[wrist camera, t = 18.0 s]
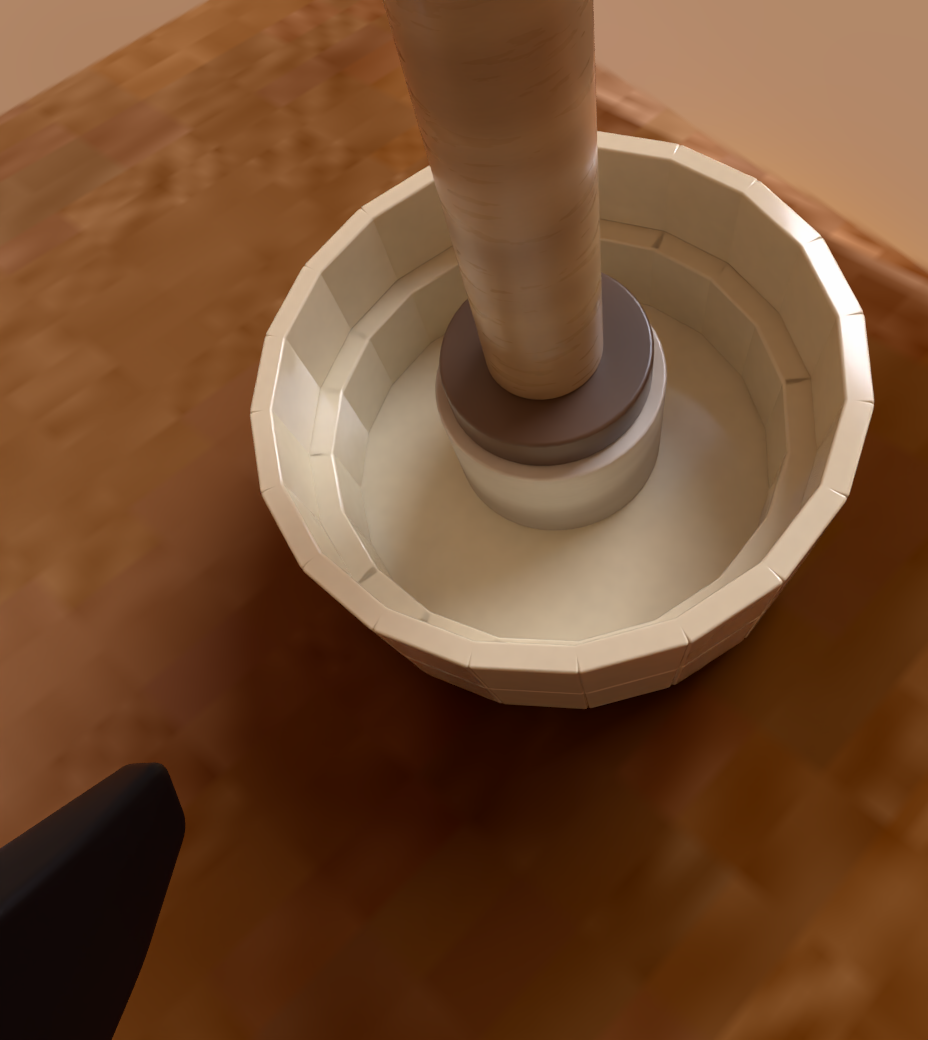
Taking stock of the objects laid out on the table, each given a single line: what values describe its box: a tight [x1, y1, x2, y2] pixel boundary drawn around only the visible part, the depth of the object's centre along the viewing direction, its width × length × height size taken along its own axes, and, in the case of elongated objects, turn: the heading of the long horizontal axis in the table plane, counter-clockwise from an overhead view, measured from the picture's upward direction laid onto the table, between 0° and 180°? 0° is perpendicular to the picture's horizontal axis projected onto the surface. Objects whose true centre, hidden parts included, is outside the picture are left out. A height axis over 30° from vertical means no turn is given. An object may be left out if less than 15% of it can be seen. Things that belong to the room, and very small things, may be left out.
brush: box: [383, 0, 667, 530], centre depth 14 cm, size 5×5×13 cm
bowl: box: [250, 131, 874, 709], centre depth 18 cm, size 12×12×5 cm
